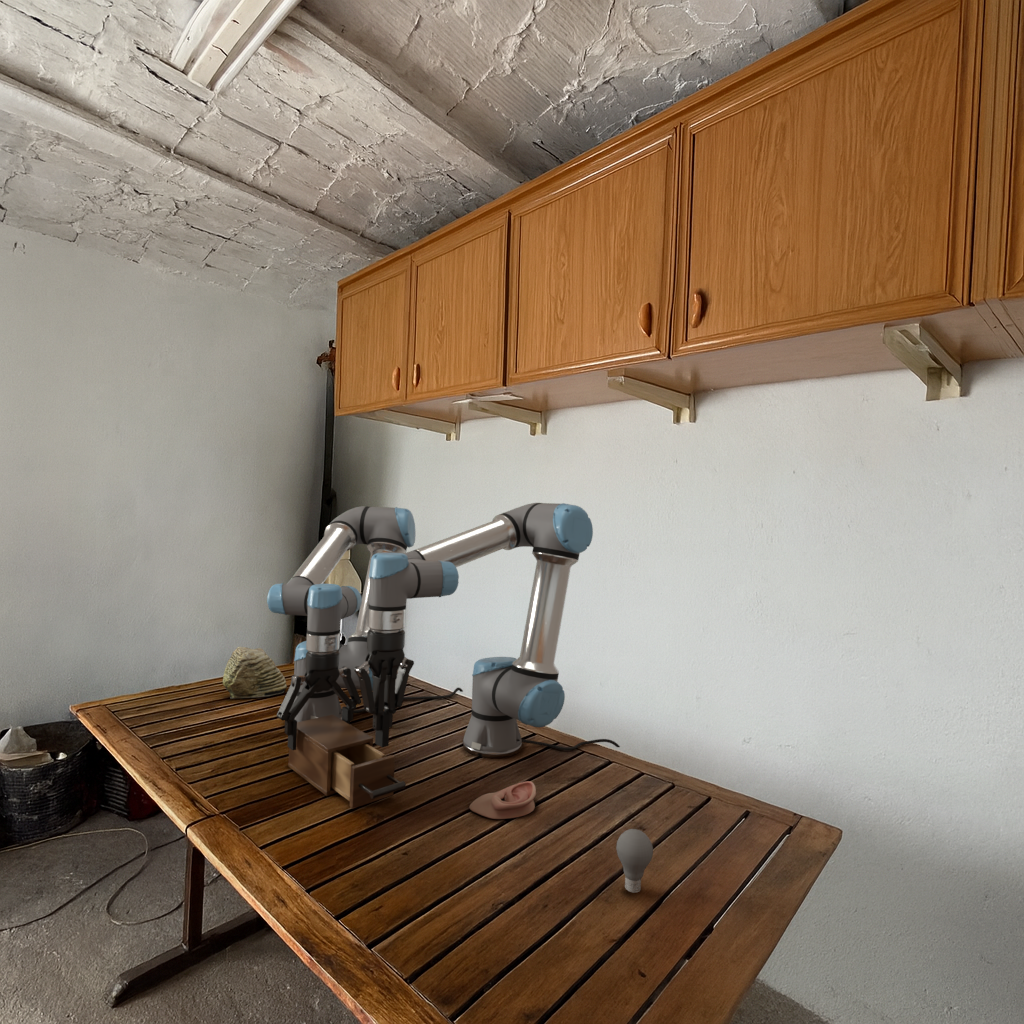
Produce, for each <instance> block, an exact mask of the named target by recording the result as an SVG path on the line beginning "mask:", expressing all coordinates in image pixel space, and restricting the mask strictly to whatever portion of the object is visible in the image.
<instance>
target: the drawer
mask: <svg viewBox="0 0 1024 1024" xmlns="http://www.w3.org/2000/svg"><path fill="white" fill-rule="evenodd" d="M395 760H396V757H395V755H393V754H390V755H386V754H385V753H383V752H381V750H378V749H377V748H375V747H374V746H373V747H372V746H370V745H368V744H367V743H364V744H361V745H357V746H353V747H349V748H345V749H342V750H338V751H334V752H332V759H331V784H330V787H331V788H332V789H334V790H335V791H336V792H338V793H337V794H339V795H340V796H341V797H343V798H344V799H345V800H347V801H348V802H349V807H350V808H351V809H356V808H359V807H363V806H365V805H368V804H371V803H374V802H377V801H380V800H383V799H386V798H388V797H391V796H394V792H395V793H396V792H398V791H401V790H403V789H406V788H407V785H406V781H405V780H401V781H400V780H398V779H397V778H395V765H396V764H395V763H396V762H395Z"/></svg>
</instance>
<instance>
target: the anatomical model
mask: <svg viewBox="0 0 1024 1024" xmlns="http://www.w3.org/2000/svg"><path fill="white" fill-rule="evenodd" d="M536 795H537V789H536V785H535V783H534V782H533V781H529V780H528V781H527V780H526V781H522V782H518V783H515V784H512V785H510V786H507V787H505V788H503V789H500V790H498V791H496V792H489V793H484V794H482V795H480V796H478V797H477V798H476V799H474V800H473V801H472V802H471V803H470V804H469V807H468V808H469V810H470V811H472V812H473V813H475V814H477V815H480V816H482V817H485V818H488V819H492V820H505V819H515V818H520V817H523V816H526V815H528V814H530V813H532V812H533V811H534V810H535V807H536V803H535V801H534V800H535V797H536Z"/></svg>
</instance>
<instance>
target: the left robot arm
mask: <svg viewBox="0 0 1024 1024" xmlns="http://www.w3.org/2000/svg"><path fill="white" fill-rule="evenodd" d="M415 542H416V523H415V519H414V515H413V513H412V511H411V510H410V509H408V508H404V507H403V508H402V507H397V506H394V507H390V506H389V507H388V506H386V507H385V506H368V505H361V506H356V507H352V508H350V509H348V510H346V511H344V512H342V513H340V515H339V514H338V516H337V517H335V518H333V520H332V521H331V522H329V524H327V526H326V527H325V530H324V533H323V537H322V539H320V541H319V542H318V544H317V545H316V546H315V547H314V549H312V551H311V553H310V554H309V555H308V556H307V558H306V559H305V560H304V561H303V563H302V564H301V565H300V567H299V568H298V569H297V570H296V571H295V573H294V575H292V576H291V578H290V579H289V580H288V582H287V583H284V582H282V583H275V584H273V585H271V587H270V588H269V589H268V593H267V597H266V602H267V603H266V604H267V607H268V609H269V611H270V612H271V613H273V614H279V615H284V616H302V617H304V616H305V617H307V623H306V626H307V627H306V640H304V641H302V642H299V643H298V644H297V645H296V647H295V652H294V653H295V654H294V659H293V661H294V672H293V675H291V679H290V680H291V681H290V685H289V687H288V690H287V692H286V693H285V697H284V699H283V700H282V702H281V705H280V706H279V709H278V711H277V713H276V718H277V719H279V720H281V721H284V734H285V735H286V736H287V747H288V749H289V748H290V749H292V750H296V737H297V722H301V721H306V720H310V719H315V718H319V717H324V716H329V715H334V716H336V717H338V718H339V719H341V720H343V721H345V722H346V723H348V724H350V725H351V722H353V720H354V714H360V713H364V712H366V711H365V710H364V707H363V708H360V709H357V705H361V704H362V698H361V697H360V694H359V692H358V690H359V691H361V688H360V683H359V678H358V676H357V674H356V673H355V671H354V668H355V667H356V666H359V667H360V666H361V665H362V664H363V663H364V662H365V658H366V656H367V653H368V650H367V632H368V631H369V630H370V628H368V626H367V625H368V608H369V573H370V564H371V558H372V556H373V555H374V554H376V553H403V554H404V553H407V551H408V550H407V549H408V548H409V549H410V548H413V546H414V545H415ZM357 545H366V548H367V550H368V551H369V553H370V557H369V561H368V567H367V572H366V576H365V581H364V587H363V592H362V594H361V592H360V590H358V589H357V588H356V587H354V586H352V585H341V586H340V585H339V584H337V583H336V584H335V583H325V582H326V581H327V579H328V578H329V576H330V575H331V573H332V572H333V571H334V569H335V568H336V567H337V565H338V564H339V562H340V561H341V559H342V558H343V556H344V555H345V553H346V552H348V551H350V550H352V549H354V547H355V546H357ZM358 611H359V612H358ZM357 612H358V616H357V621H356V627H355V631H354V632H353V634H351V635H349V636H348V638H347V643H346V644H341V623H342V622H341V621H342V620H343V619H347V618H349V617H352V616H353V615H354V614H356V613H357ZM369 672H370V673H369V674H368V675H369V677H370V681H371V686H372V692H373V678H372V671H371V670H370V668H369ZM343 689H346V690H347V692H348V694H349V696H348V694H346V692H345V691H344V690H343ZM458 691H459V692H460V693H463V692H464V690H463V689H462V688H461V687H456V688H455V689H454V690H453V691H452V692H451V693H450V694H449V693H448V694H444V695H426V696H425V695H423V696H404V698H403V701H414V700H419V701H420V700H441V699H442V700H443V699H449V698H451V697H453V696H454V695H456V693H457V692H458ZM340 700H341V702H342V703H343V704H344V706H341V702H340Z"/></svg>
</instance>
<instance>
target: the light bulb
mask: <svg viewBox="0 0 1024 1024" xmlns="http://www.w3.org/2000/svg"><path fill="white" fill-rule="evenodd" d="M615 849H616V854H617V857H618V859H619V861H620V863H621V865H622V867H623V873H624V874H623V875H624V876H625V878H624V888H625V890H627V891H628V892H630V893H634V894H635V893H639V892H640V891H641V889H642V887H641V886H642V879H643V877H644V875H645V871H646V868H647V867H648V866H649V864H650V863H651V861H652V859H653V855H654V847H653V843H652V841H651V838H649V836H648V835H647V834H646V833H645V832H643V831H642V830H641V829H636V828H629V829H627V830H625V831H623V832H622V833H621V834H620V835H619V837H618V839H617V841H616V847H615Z"/></svg>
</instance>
